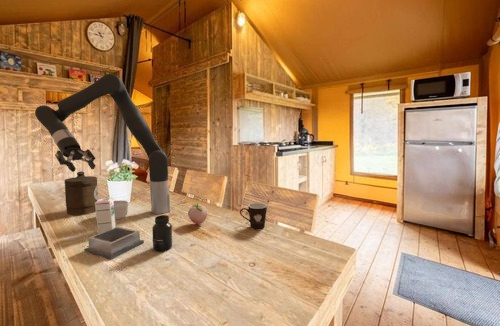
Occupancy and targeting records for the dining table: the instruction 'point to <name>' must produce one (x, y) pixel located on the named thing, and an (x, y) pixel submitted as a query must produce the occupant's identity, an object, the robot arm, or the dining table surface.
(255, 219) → the coffee mug
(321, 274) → the dining table surface
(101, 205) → the syrup box
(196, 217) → the decorative fruit
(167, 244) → the supplement bottle
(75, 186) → the wooden container
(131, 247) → the collar
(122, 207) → the ramekin
